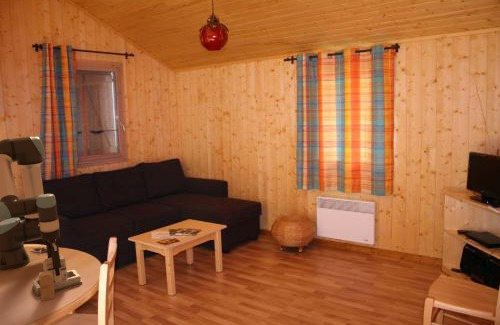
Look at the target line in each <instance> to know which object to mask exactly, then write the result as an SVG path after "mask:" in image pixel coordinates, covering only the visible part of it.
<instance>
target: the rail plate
mask: <svg viewBox="0 0 500 325" xmlns="http://www.w3.org/2000/svg"><path fill="white" fill-rule="evenodd" d="M53 283H54V292H55V293H56V292H59V291H62V290H66V289H69V288H73V287H77V286H80V285H82V284H83V281H82V280H81V276H80V274H79V273H78V272H77V271H76V270H75V269H71V270H67V279H64V280H60V281H57V282H53ZM31 287H32V289H33V291H34V292H35V295H36V296H37V297H38V298H41V293H40V284H39V278H38V279H34V280H32V286H31Z"/></svg>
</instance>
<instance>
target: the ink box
mask: <svg viewBox="0 0 500 325" xmlns="http://www.w3.org/2000/svg"><path fill="white" fill-rule="evenodd" d="M59 256H60V262H61V268H60V270H61V278H62V280H64V279H67V271H68V270H67V262H66V258H65V256H64V255H63V254H59ZM42 268H43V272H45V271H51V270H52V268H54V267H53V262H52V257H51V258H48V257H47V258H44V259H42ZM52 273H53V282H55V279H54V272H53V270H52Z"/></svg>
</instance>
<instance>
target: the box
mask: <svg viewBox="0 0 500 325" xmlns="http://www.w3.org/2000/svg"><path fill="white" fill-rule="evenodd" d="M38 279H39V284H40V293H41V296H40V299H41V300H40V301H41V302H44V301H49V300H54V299H55V298H56V294H55V293H56V292H54V283H53V273H52V270H51V271H45V272H44V271H42V272H41V271H40V272H38Z"/></svg>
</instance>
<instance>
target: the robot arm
mask: <svg viewBox="0 0 500 325" xmlns="http://www.w3.org/2000/svg"><path fill="white" fill-rule="evenodd" d="M44 159H46V151H45V147H44V144H43V141H42V140H41V138H40V137H39V136H25V137H24V136H22V137H15V138H14V137H13V138H5V139H1V140H0V271H9V270H14V269H19V268H21V267H24V266H26V265H28V264H29V263H30V262H31V259H30V255H29V253H28V251H27V249H26V248H25V246H24V243H26V242H33V241H37V240H40V239H41V240H42V241H44V243H45V246H46V254H47V258H51V257H52V262H53V267H54V268H52V270H53V272H54V279H55V282H57V281H60V280H62V278H61V270H60V268H61V262H60V256H59V255H60V250H59V248H60V247H59V244H58V242H57V241H56V240H57V239H59V238H60V237H61V232H60V222H59V216H58V211H57V210H58V208H57V200H56V196H55V194H53V193H44V186H43V180H42V178H43V177H42V172H41V171H42V170H41V165H42V164H44V162H43V161H44ZM14 162H15V163H17V166H18V167H20V169H21V174H22V175H21V177H22V183H23V190H24V196H25V198H21V199H19V193H18V189H17V185H16V182H15V177H14V173H13V169H12V163H14ZM22 217H24V219H21V218H22ZM1 220H2V221H1Z"/></svg>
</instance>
